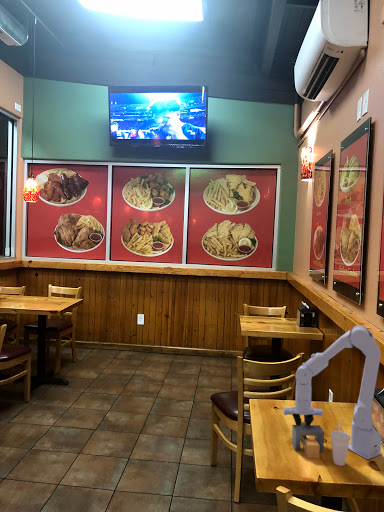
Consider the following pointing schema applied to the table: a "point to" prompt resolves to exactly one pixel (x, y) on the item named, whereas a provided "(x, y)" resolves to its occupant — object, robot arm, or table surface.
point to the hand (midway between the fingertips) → (302, 433)
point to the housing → (307, 431)
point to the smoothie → (339, 446)
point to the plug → (310, 446)
